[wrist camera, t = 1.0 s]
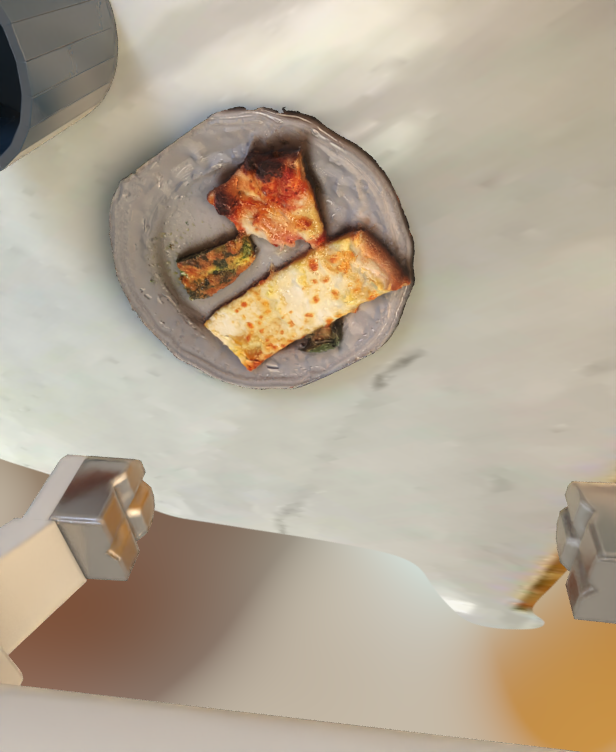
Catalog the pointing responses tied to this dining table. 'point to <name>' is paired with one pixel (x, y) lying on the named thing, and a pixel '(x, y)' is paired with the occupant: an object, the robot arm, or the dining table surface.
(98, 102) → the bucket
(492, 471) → the dining table surface
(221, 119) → the food plate
